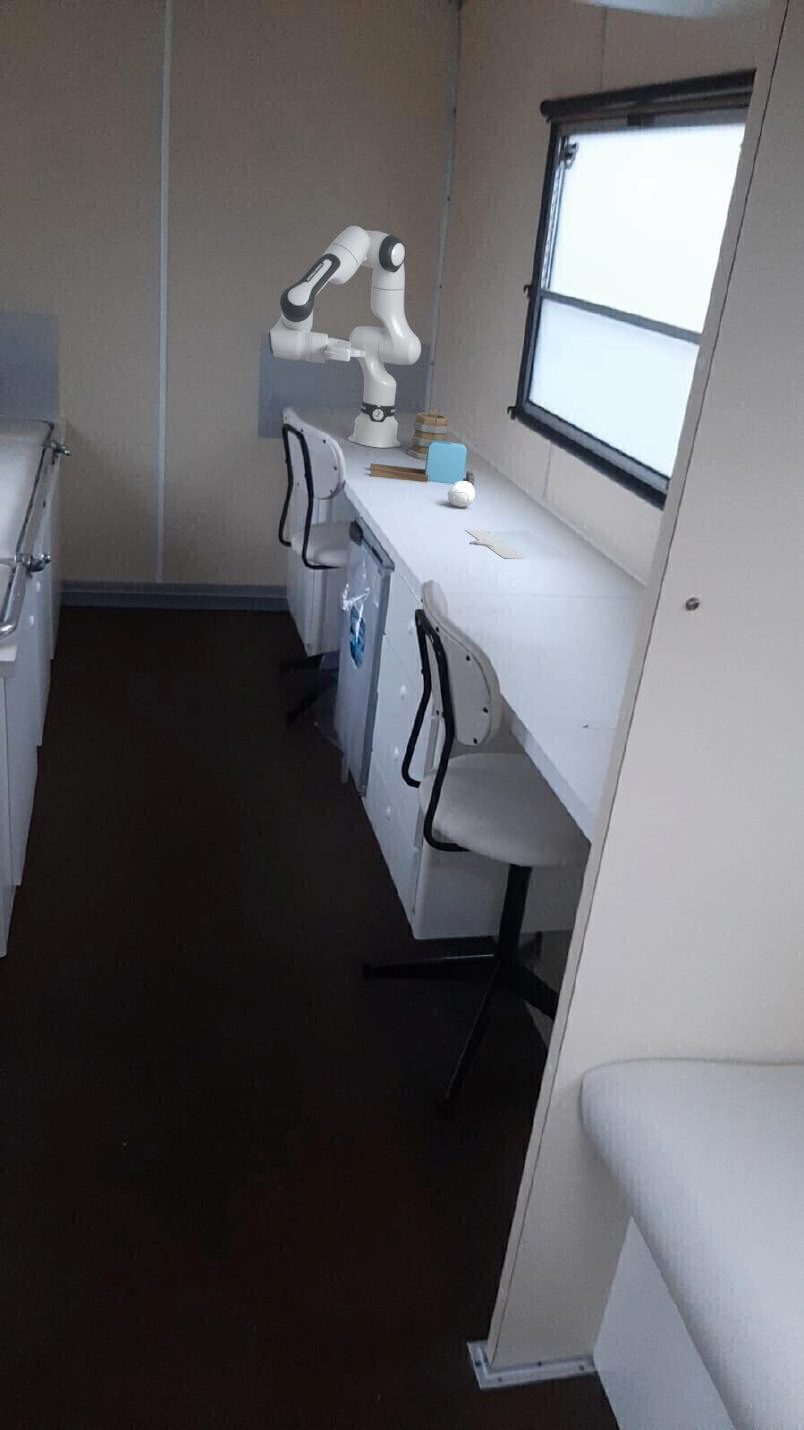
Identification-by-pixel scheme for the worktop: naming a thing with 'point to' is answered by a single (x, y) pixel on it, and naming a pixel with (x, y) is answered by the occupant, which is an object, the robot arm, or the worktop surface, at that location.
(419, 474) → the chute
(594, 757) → the worktop surface
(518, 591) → the worktop surface
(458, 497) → the white ball
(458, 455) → the data package
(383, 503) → the worktop surface
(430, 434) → the tankard
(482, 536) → the white flat panel
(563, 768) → the worktop surface
